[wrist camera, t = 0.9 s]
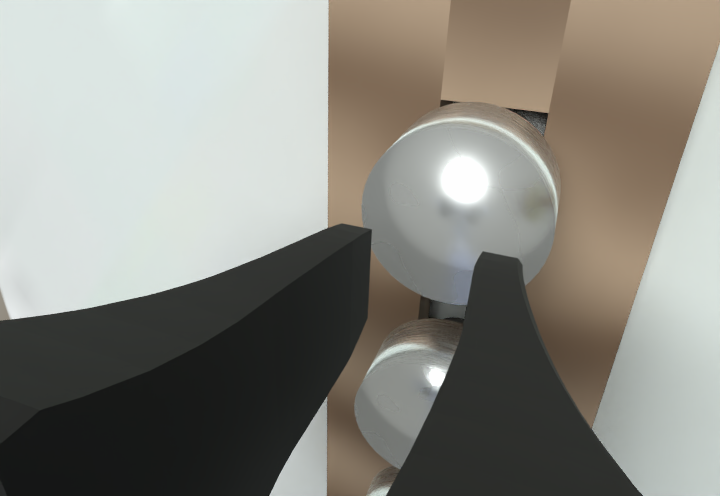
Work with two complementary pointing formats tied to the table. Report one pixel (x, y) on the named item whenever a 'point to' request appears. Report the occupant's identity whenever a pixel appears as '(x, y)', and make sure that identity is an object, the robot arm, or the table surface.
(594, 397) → the button panel
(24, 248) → the table surface
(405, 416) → the button middle
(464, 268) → the button
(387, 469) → the button
